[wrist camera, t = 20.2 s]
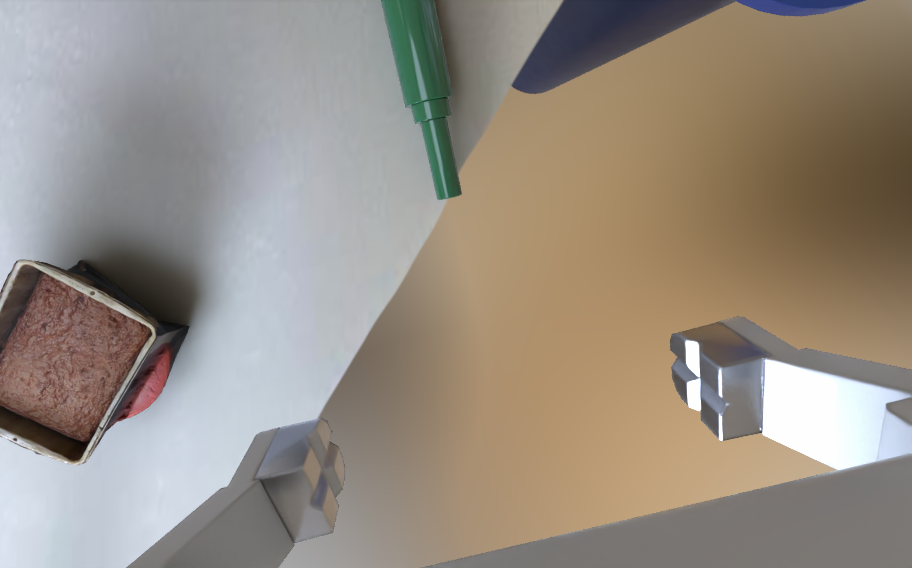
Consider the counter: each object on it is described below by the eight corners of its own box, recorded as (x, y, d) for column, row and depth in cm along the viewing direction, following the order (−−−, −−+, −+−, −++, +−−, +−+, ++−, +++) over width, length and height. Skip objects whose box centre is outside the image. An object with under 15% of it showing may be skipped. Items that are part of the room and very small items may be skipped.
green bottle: (364, -21, 34) (405, -45, 32) (399, -12, 38) (438, -33, 35) (418, 204, 40) (456, 199, 37) (444, 194, 43) (480, 189, 41)
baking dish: (15, 345, 44) (-89, 414, 35) (81, 216, 39) (-23, 259, 30) (153, 409, 49) (92, 484, 40) (229, 302, 43) (178, 361, 34)
